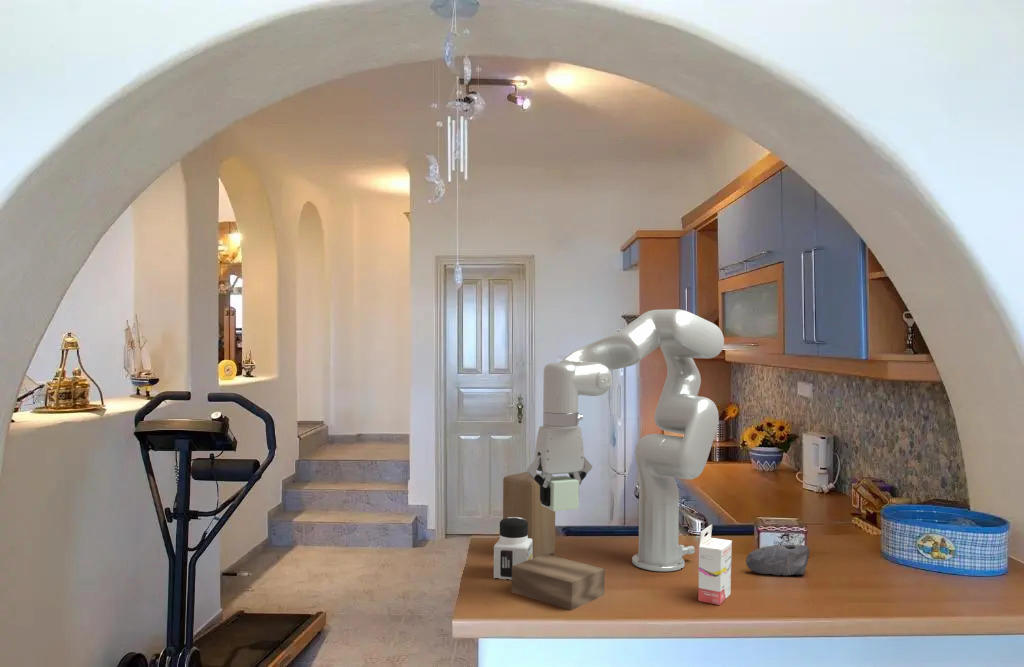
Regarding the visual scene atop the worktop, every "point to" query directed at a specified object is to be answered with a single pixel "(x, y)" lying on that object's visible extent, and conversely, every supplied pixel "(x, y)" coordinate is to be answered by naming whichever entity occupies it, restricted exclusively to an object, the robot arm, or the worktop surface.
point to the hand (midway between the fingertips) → (559, 502)
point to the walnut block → (558, 581)
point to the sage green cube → (563, 493)
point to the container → (511, 546)
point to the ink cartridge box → (714, 568)
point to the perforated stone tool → (779, 560)
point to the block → (530, 511)
